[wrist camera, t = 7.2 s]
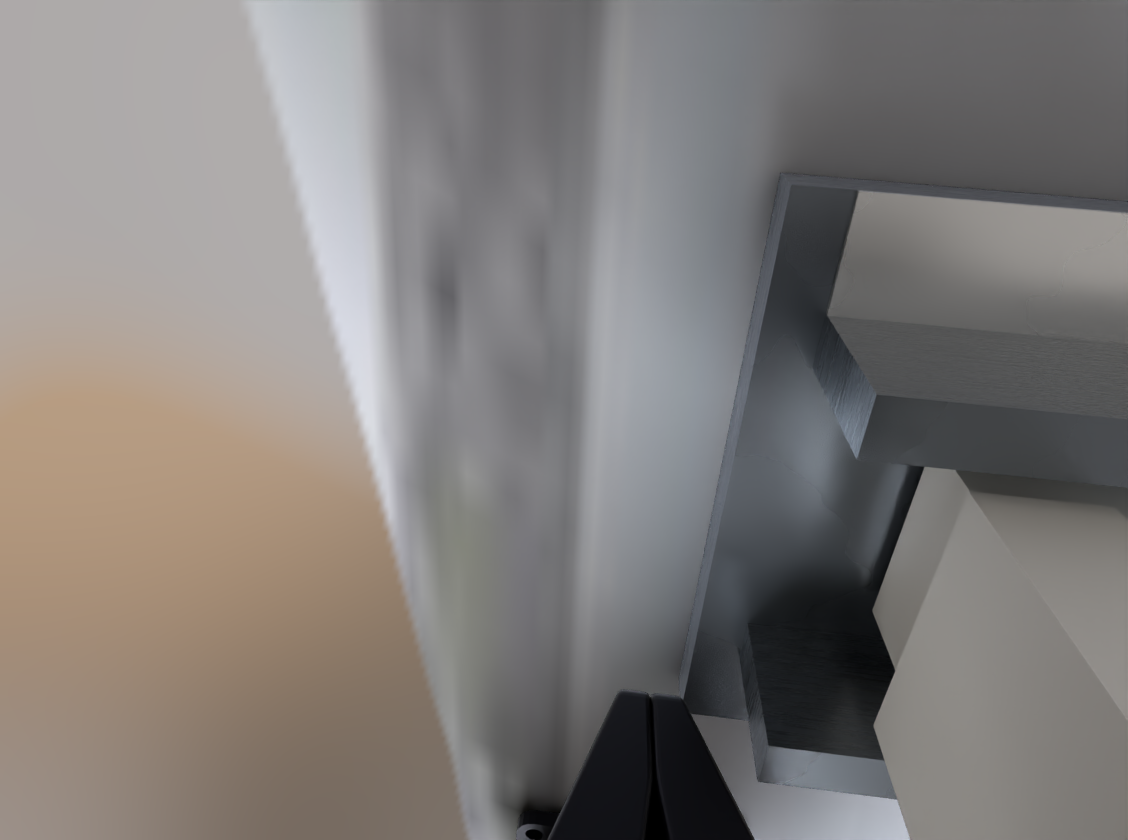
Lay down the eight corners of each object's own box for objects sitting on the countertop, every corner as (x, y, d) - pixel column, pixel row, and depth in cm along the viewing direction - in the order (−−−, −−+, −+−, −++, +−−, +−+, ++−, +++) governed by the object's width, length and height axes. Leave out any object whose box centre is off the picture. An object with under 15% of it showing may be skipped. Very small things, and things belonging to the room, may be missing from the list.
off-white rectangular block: (1015, 646, 15) (1311, 1140, 8) (840, 625, 15) (993, 1093, 8) (1125, 433, 12) (1668, 896, 6) (913, 412, 12) (1208, 837, 6)
